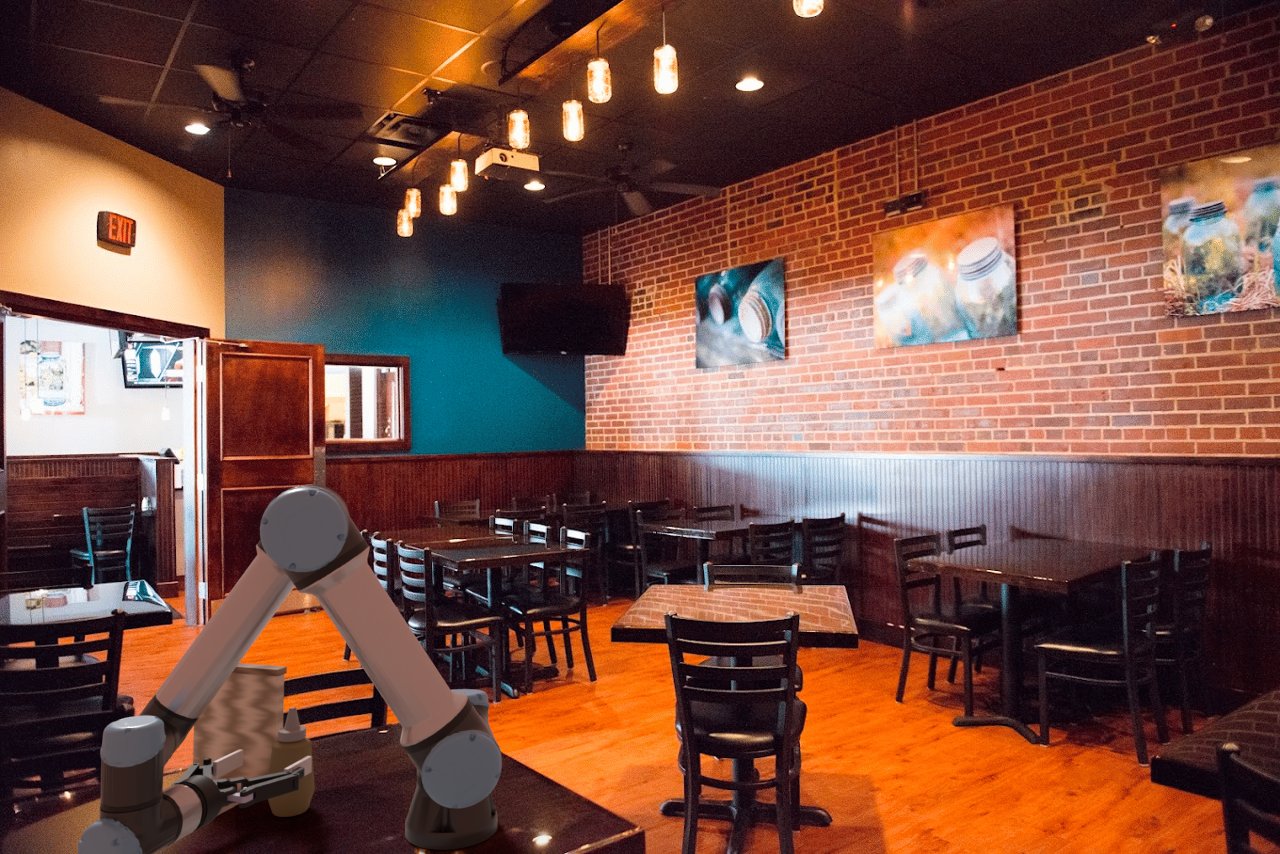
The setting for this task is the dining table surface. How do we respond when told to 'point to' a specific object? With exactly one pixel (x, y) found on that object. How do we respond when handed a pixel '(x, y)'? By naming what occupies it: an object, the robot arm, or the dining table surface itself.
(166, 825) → the robot arm
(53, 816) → the dining table surface
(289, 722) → the squeeze bottle
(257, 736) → the wooden display stand
